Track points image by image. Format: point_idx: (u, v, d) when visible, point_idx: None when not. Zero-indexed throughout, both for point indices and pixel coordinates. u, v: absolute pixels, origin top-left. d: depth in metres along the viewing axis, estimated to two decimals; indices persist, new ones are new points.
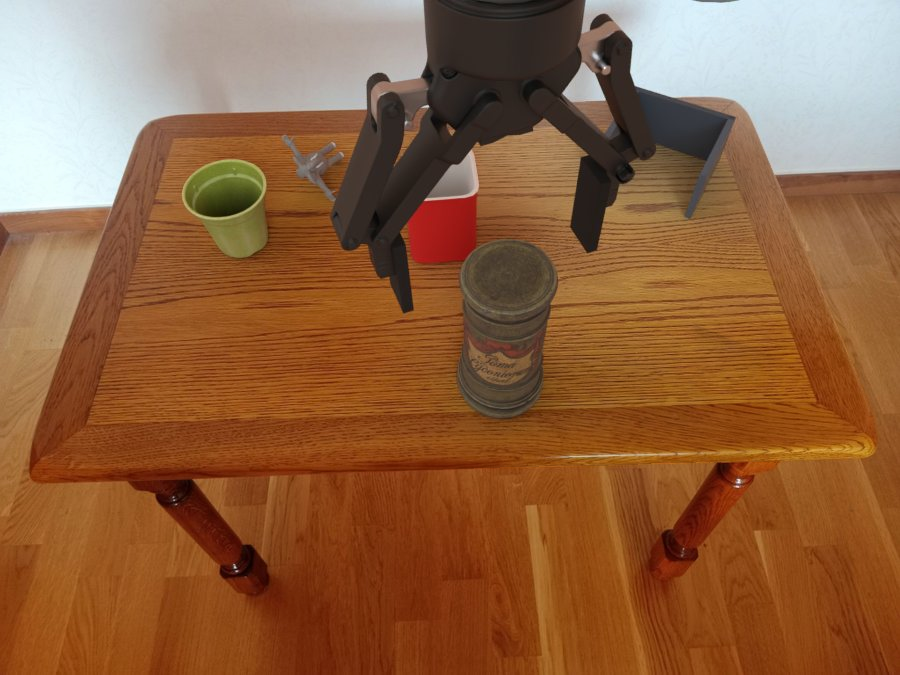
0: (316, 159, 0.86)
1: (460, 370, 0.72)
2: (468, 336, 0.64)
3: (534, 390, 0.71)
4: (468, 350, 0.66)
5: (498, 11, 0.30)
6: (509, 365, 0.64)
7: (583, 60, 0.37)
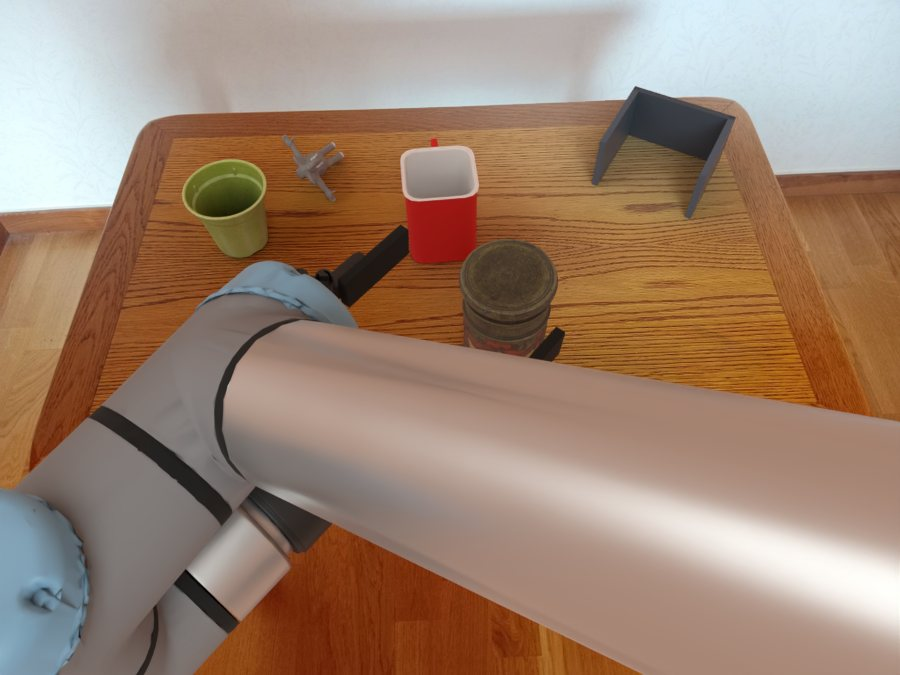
0: (316, 159, 0.86)
1: None
2: (468, 336, 0.64)
3: None
4: None
5: (265, 510, 0.38)
6: None
7: None
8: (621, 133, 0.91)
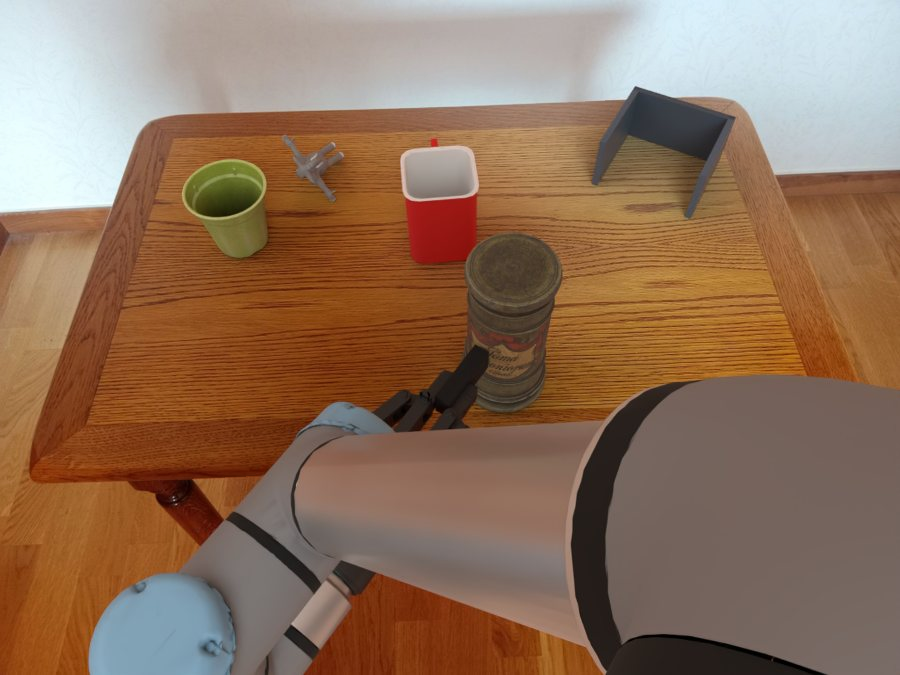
0: (316, 159, 0.86)
1: None
2: (471, 328, 0.65)
3: (536, 385, 0.71)
4: (471, 342, 0.67)
5: None
6: (511, 359, 0.65)
7: None
8: (621, 133, 0.91)
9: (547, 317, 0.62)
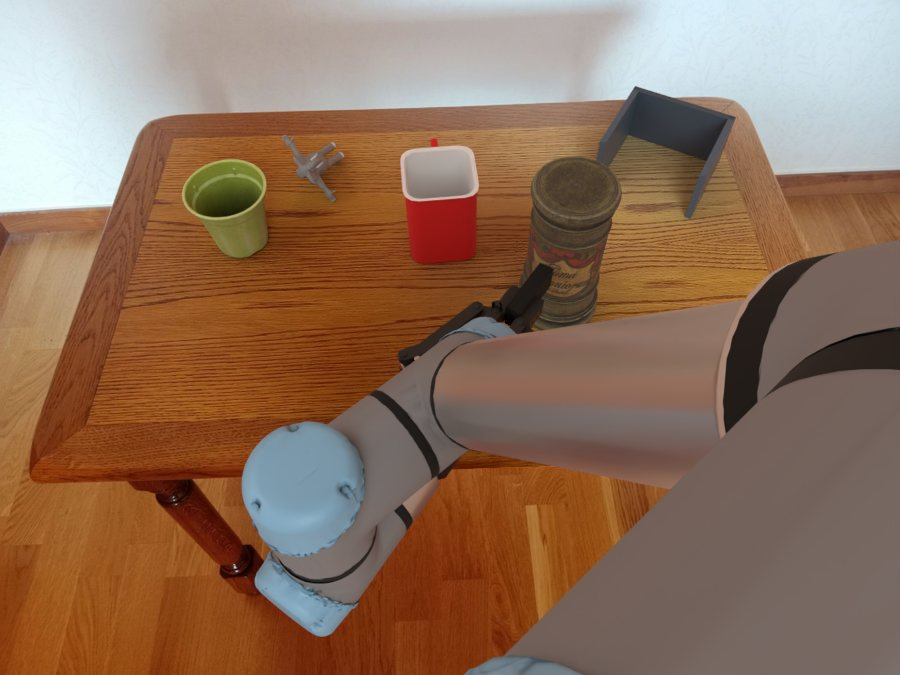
0: (316, 159, 0.86)
1: (520, 287, 0.78)
2: (534, 247, 0.70)
3: (589, 307, 0.76)
4: (532, 262, 0.72)
5: None
6: (570, 276, 0.70)
7: None
8: (621, 133, 0.91)
9: (605, 235, 0.67)
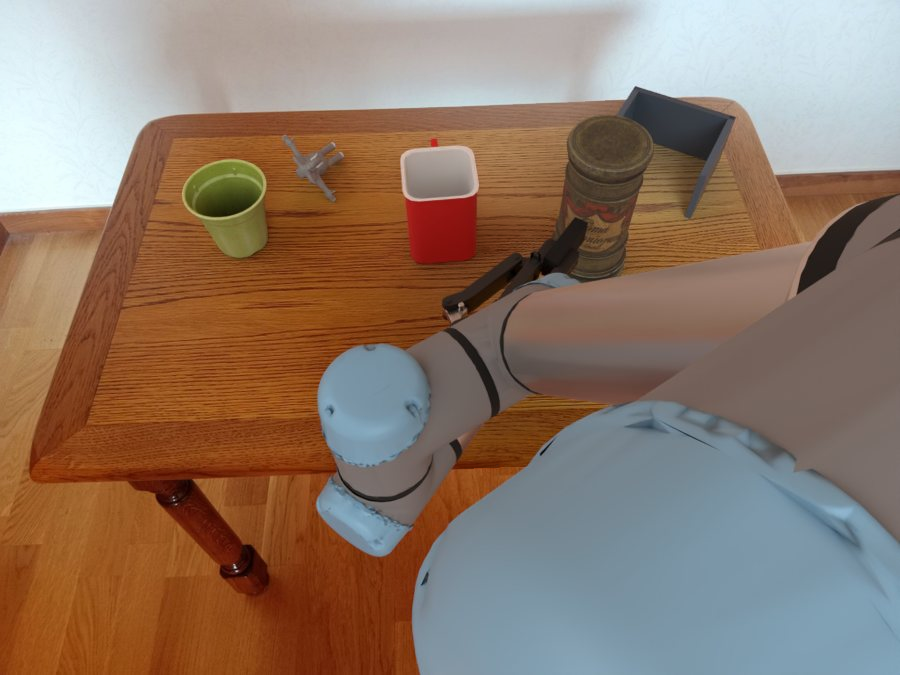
0: (316, 159, 0.86)
1: None
2: (568, 202, 0.73)
3: (618, 264, 0.80)
4: (565, 218, 0.75)
5: None
6: (602, 230, 0.73)
7: (459, 318, 0.67)
8: None
9: (637, 189, 0.71)
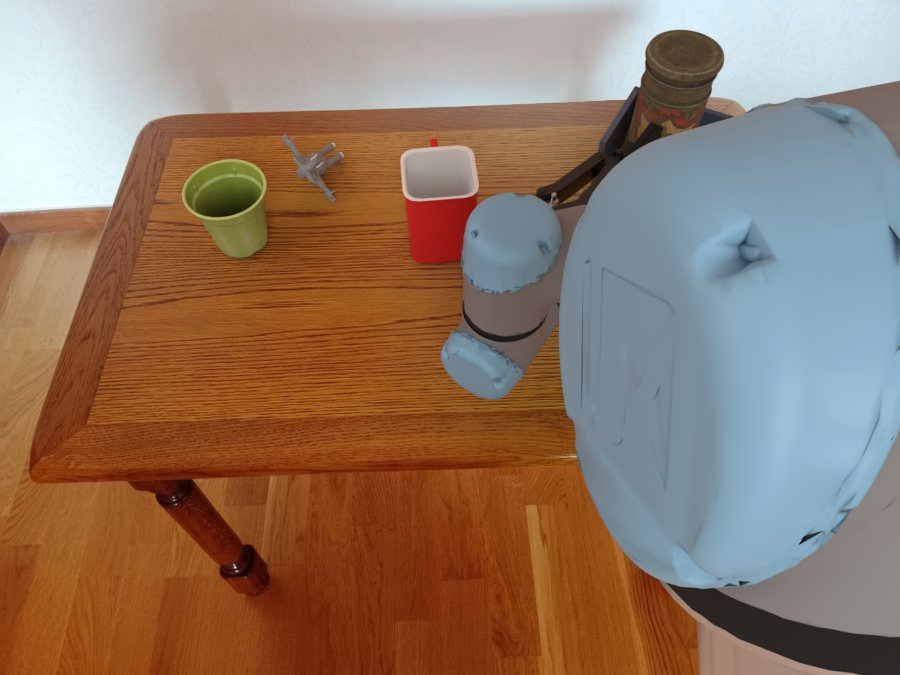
0: (316, 159, 0.86)
1: None
2: (642, 111, 0.81)
3: None
4: (638, 128, 0.83)
5: None
6: None
7: (553, 206, 0.75)
8: (621, 133, 0.91)
9: (707, 96, 0.78)
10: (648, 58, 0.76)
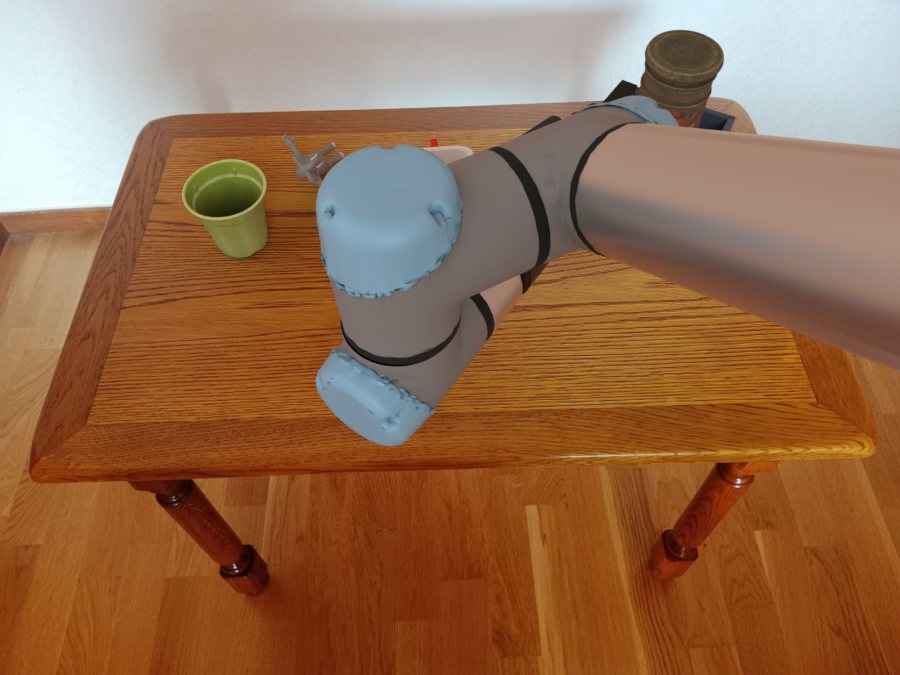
0: (316, 159, 0.86)
1: None
2: None
3: None
4: None
5: None
6: None
7: None
8: None
9: (707, 96, 0.78)
10: (648, 58, 0.76)
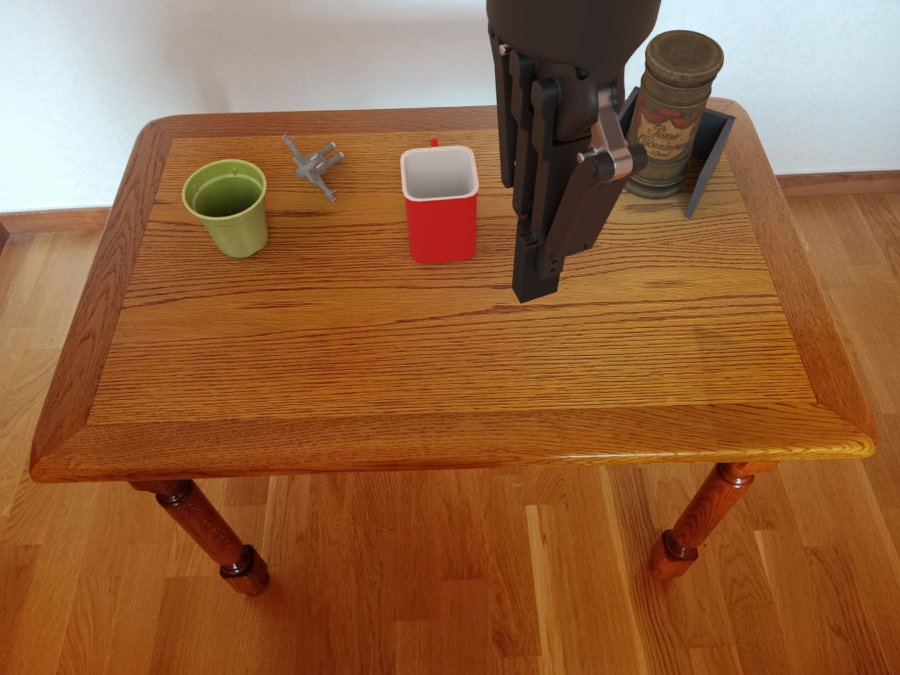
0: (316, 159, 0.86)
1: None
2: (642, 111, 0.81)
3: (682, 174, 0.87)
4: (638, 128, 0.83)
5: None
6: (673, 136, 0.81)
7: None
8: None
9: (707, 96, 0.78)
10: (648, 58, 0.76)
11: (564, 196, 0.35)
